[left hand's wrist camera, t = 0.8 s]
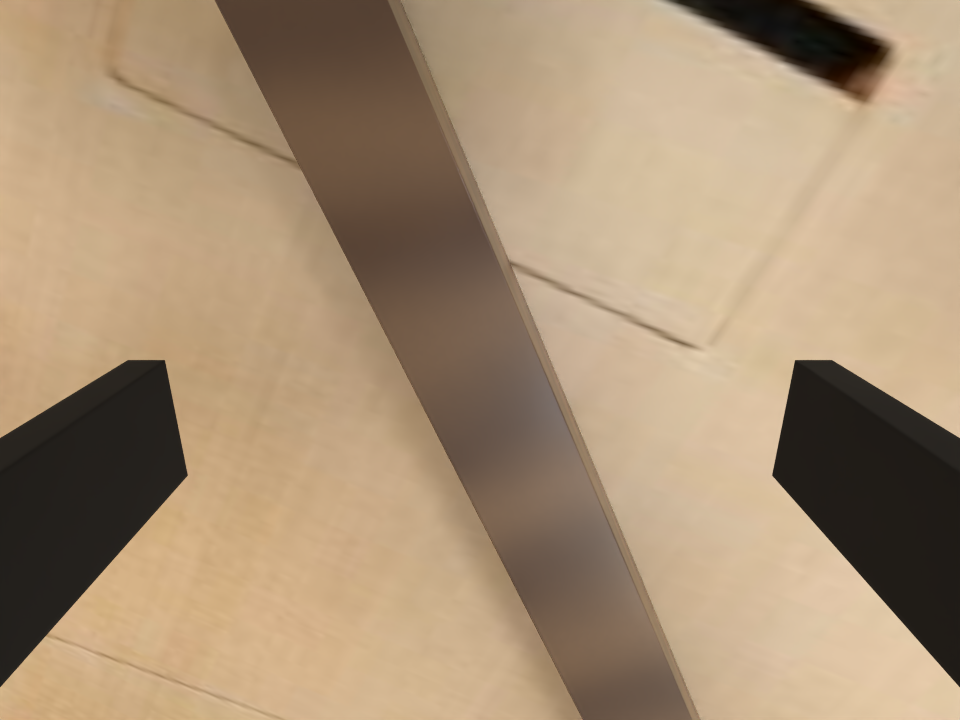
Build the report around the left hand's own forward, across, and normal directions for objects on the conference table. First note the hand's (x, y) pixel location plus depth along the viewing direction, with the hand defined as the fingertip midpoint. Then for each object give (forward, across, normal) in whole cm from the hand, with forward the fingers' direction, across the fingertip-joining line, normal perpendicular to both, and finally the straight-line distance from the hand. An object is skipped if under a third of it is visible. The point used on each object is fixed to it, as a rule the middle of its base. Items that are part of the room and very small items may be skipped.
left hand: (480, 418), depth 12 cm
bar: (+18, +8, -21) cm, 29 cm away
